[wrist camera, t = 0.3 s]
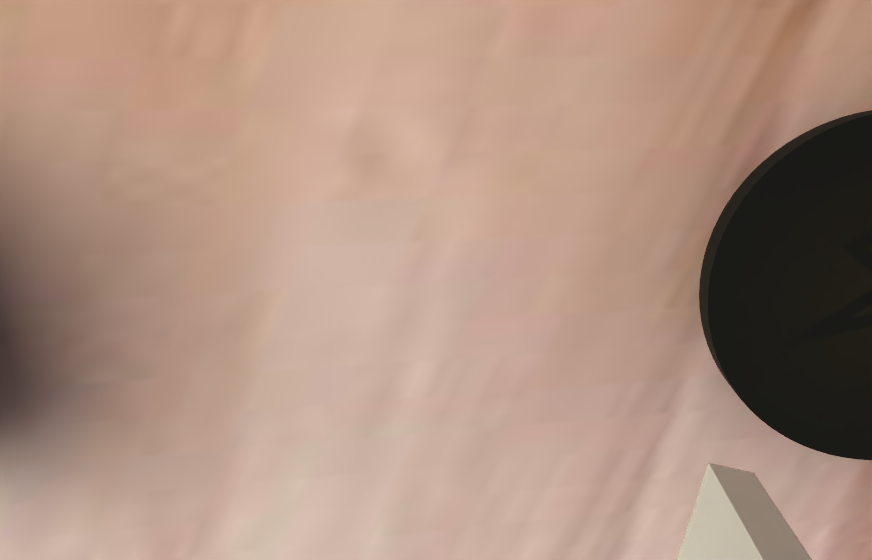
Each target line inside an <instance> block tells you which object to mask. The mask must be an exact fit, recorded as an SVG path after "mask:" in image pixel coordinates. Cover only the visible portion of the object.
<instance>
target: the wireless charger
mask: <svg viewBox="0 0 872 560" xmlns="http://www.w3.org/2000/svg"><path fill="white" fill-rule="evenodd" d="M699 301H700V314H701V321H702V326H703V331H704V334H705V338H706V341H707V344H708V347H709V349H710V352H711V354H712V357H713V359H714V361H715V363H716V365H717V367H718V368H719V370H720V371H721V373H722V375H723V376H724V378H725V379H726V381H727V382H728V383H729V385H730V386H731V387H732V389H733V390H734V391H735V392H736V394H737V395H738V396H739V397H740V399H741V400H742V401H743V402H744V403H745V404H746V405H747V407H748V408H749V409H750V410H751V411H752V412H753V413H754V414H755V415H756V416H758V417H759V418H760V419H761V420H762V421H763V422H765V423H766V424H767V425H768V426H770V427H771V428H773V429H774V430H776V431H777V432H779V433H780V434H782V435H784V436H785V437H787V438H789V439H791V440H793V441H795V442H797V443H799V444H801V445H803V446H806V447H809V448H811V449H814V450H817V451H820V452H823V453H827V454H831V455H835V456H840V457H845V458H852V459H862V460H872V110H871V111H866V112H860V113H856V114H852V115H848V116H845V117H841V118H839V119H836V120H833V121H830V122H827V123H825V124H823V125H820V126H818V127H815V128H813V129H811V130H809V131H807V132H806V133H804V134H802V135H800V136H798V137H797V138H795V139H793V140H792V141H790V142H788V143H787V144H785V145H784V146H783V147H781V148H780V149H778V150H777V151H775V152H774V153H773V154H772V155H771V156H769V157H768V158H767V159H766V160H764V161H763V162H762V163H761V164H760V165H759V166H758V167H757V168H756V169H755V170H754V171H753V172H752V173H751V174H750V175H749V176H748V177H747V178H746V179H745V181H744V182H743V183H742V184H741V185H740V187H739V188H738V189H737V190H736V192H735V193H734V194H733V196H732V197H731V199H730V200H729V202H728V203H727V205H726V206H725V208H724V210H723V212H722V213H721V215H720V217H719V219H718V221H717V223H716V225H715V227H714V229H713V232H712V234H711V237H710V239H709V242H708V245H707V249H706V252H705V255H704V260H703V264H702V269H701V277H700V290H699Z"/></svg>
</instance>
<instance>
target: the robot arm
mask: <svg viewBox="0 0 872 560" xmlns="http://www.w3.org/2000/svg"><path fill="white" fill-rule="evenodd" d="M677 560H812V559H811V557H810V556H809V554H808V553H807V551H806V550H805V548H804V547H803V545H802V544H801V542H800V541H799V539H798V538H797V537H796V535H795V534H794V532H793V531H792V529H791V528H790V526H789V525H788V523H787V522H786V520H785V519H784V517H783V516H782V514H781V513H780V511H779V510H778V508H777V507H776V505H775V504H774V502H773V501H772V499H771V498H770V496H769V495H768V493H767V492H766V490H765V489H764V487H763V486H762V484H761V483H760V481H759V480H758V478H757V477H756V475H755V474H754V473H751V472H747V471H742V470H738V469H734V468H729V467H725V466H720V465H716V464H711V463H708V466H707V469H706V472H705V475H704V478H703V482H702V485H701V488H700V491H699V494H698V497H697V500H696V503H695V506H694V509H693V512H692V515H691V518H690V522H689V525H688V528H687V531H686V534H685V537H684V540H683V543H682V546H681V549H680V552H679V555H678V558H677Z"/></svg>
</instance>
